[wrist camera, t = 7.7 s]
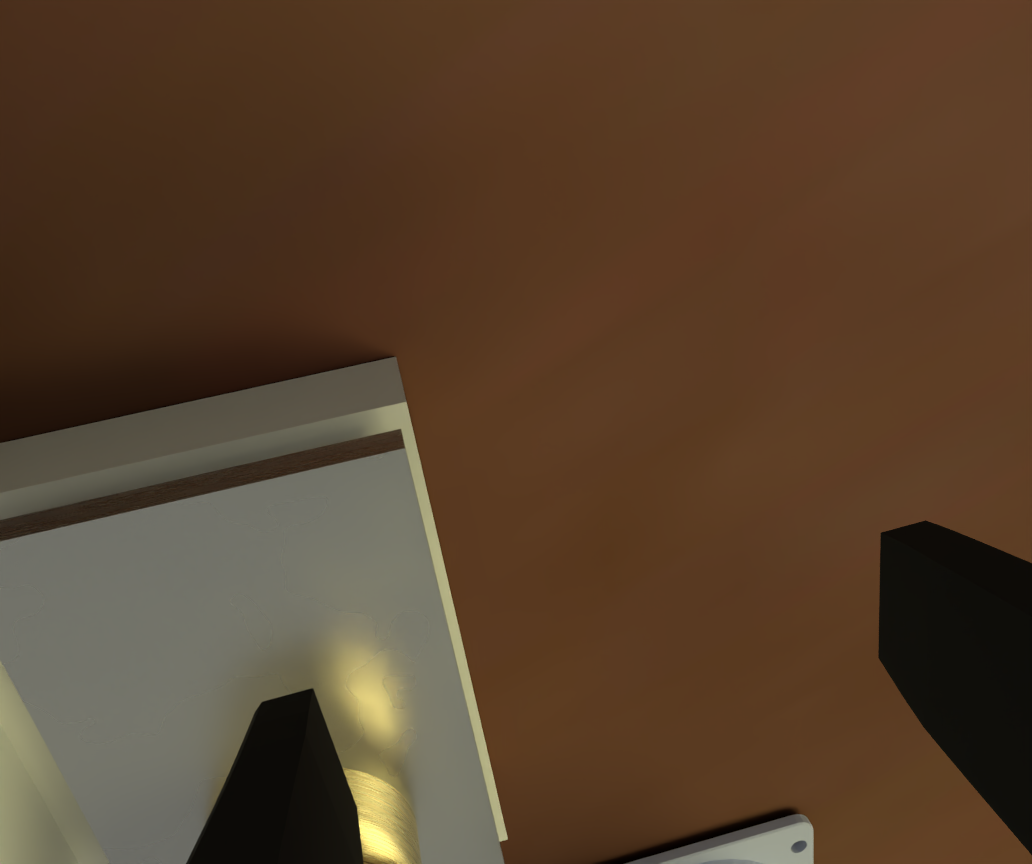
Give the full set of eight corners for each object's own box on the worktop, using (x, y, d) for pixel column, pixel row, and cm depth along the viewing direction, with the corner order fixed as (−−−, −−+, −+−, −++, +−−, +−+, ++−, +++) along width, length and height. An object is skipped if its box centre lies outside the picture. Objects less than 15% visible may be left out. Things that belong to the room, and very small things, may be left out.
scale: (490, 765, 24) (528, 928, 20) (106, 871, 23) (59, 1066, 19) (395, 356, 19) (420, 460, 14) (-114, 468, 18) (-250, 615, 13)
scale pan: (499, 838, 22) (509, 888, 21) (183, 927, 21) (175, 985, 20) (398, 414, 17) (404, 448, 15) (-28, 511, 16) (-57, 554, 15)
